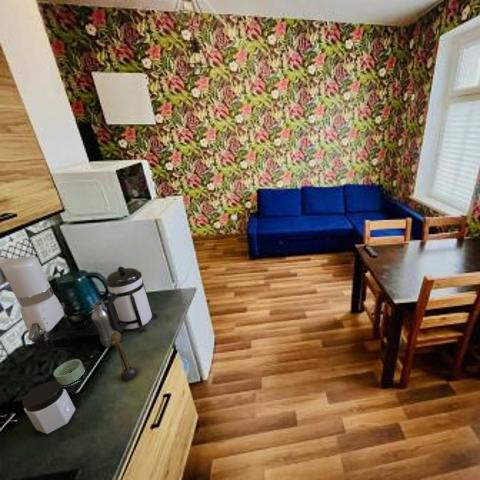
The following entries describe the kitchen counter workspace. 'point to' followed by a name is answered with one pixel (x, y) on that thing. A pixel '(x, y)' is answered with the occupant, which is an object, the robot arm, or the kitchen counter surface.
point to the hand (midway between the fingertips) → (57, 338)
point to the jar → (48, 406)
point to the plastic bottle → (103, 323)
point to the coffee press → (128, 299)
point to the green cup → (64, 370)
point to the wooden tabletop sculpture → (123, 358)
